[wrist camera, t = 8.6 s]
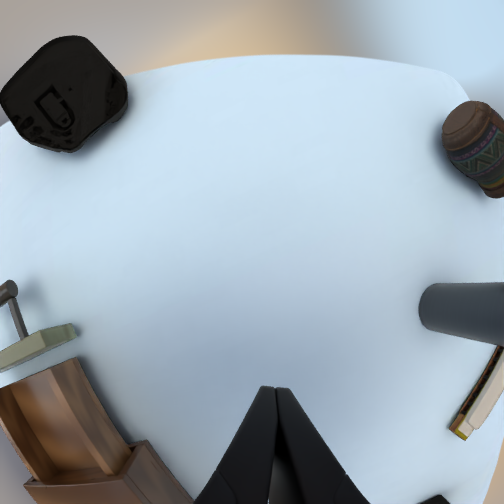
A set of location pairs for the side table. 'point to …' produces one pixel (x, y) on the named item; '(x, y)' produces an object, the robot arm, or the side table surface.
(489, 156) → the mate gourd
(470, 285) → the cylinder
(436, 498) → the battery
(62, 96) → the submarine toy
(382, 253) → the side table surface
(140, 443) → the cabinet
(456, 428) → the harmonica
